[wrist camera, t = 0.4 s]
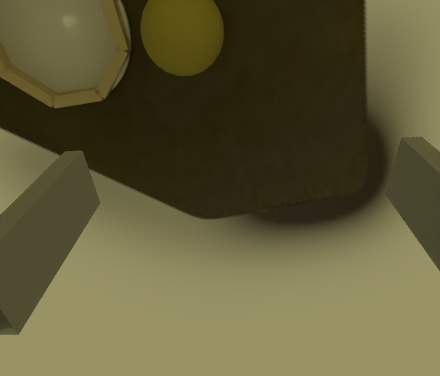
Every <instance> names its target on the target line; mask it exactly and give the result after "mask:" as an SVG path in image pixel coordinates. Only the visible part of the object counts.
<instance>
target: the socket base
mask: <svg viewBox="0 0 440 376" xmlns="http://www.w3.org/2000/svg"><path fill="white" fill-rule="evenodd" d="M131 46H132V37H131V29H130V23H129V19H128V15H127V12H126V9H125V6H124V4H123V1H122V0H0V77H1V78H3V79H5V80H6V81H8V82H10V83H11V84H13V85H15V86H16V87H18V88H20V89H21V90H23V91H25V92H26V93H28V94H30V95H31V96H33V97H35V98H36V99H38V100H40V101H41V102H43V103H45V104H46V105H48V106H50V107H51V108H52V107H53V106H54V108H60V107H66V106H73V105H79V104H85V103H91V102H98V101H103V100H104V99H105V98H107V97H108V96H109V94H110V92H111V90H112V89H114V88H115V87H116V86H117V84H118V83H119V82H120V81H121V79H122V77H123V76H124V74H125V72H126V69H127V67H128V64H129V60H130V55H131Z"/></svg>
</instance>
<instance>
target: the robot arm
mask: <svg viewBox="0 0 440 376" xmlns="http://www.w3.org/2000/svg"><path fill="white" fill-rule="evenodd" d="M386 196H387V197H388V199H389V200H390V201H391V203H392V204H393V206H394V207H395V209H396V210H397V211H398V213H399V214H400V216H401V217H402V218H403V220H404V221H405V222H406V224H407V225H408V227H409V228H410V230H411V231H412V233H413V234H414V235H415V237H416V238H417V240H418V241H419V242H420V244H421V245H422V246H423V248H424V249H425V251H426V252H427V254H428V255H429V257H430V258H431V259H432V261H433V262H434V263H435V265H436V266H437V268H438V269H439V271H440V152H439V151H438V150H437V149H436V148H434V147H433V146H432V145H431V144H430V143H428V142H427V141H426V140H425V139H424V138H422V137H408V138H407V137H406V138H401V142H400V145H399V149H398V153H397V156H396V160H395V163H394V167H393V170H392V174H391V178H390V181H389V185H388V189H387V192H386ZM99 204H100V201H99V198H98V195H97V192H96V189H95V187H94V184H93V181H92V178H91V175H90V172H89V169H88V166H87V163H86V160H85V157H84V154H83V151H65V152H64V153H63V154H62V155H61V156H60V157H59V158H58V159H57V160H56V161H55V162H54V163H53V164H52V165H51V166H50V167H49V168H48V169H47V170H46V171H45V172H44V173H43V174H42V175H41V176H40V177H39V178H38V179H37V180H36V181H35V182H34V183H33V184H31V186H30V187H29V188H28V189H26V191H24V192H23V193H22V194H21V195H20V196H19V197H18V198H17V199H16V200H15V201H14V202H13V203H12V204H11V205H10V206H9V207H8V208H7V209H6V210H5V211H4V212H3V213H2V214H1V215H0V335H2V334H4V335H5V334H6V335H18V334H19V333H20V332H21V330H22V328H23V327H24V325H25V323H26V322H27V320H28V319H29V317H30V315H31V314H32V312H33V310H34V309H35V307H36V306H37V304H38V302H39V301H40V299H41V298H42V296H43V294H44V293H45V291H46V289H47V288H48V286H49V285H50V283H51V282H52V280H53V278H54V277H55V275H56V273H57V272H58V270H59V269H60V267H61V265H62V264H63V262H64V260H65V259H66V257H67V256H68V254H69V252H70V251H71V249H72V248H73V246H74V244H75V243H76V241H77V240H78V238H79V236H80V235H81V233H82V231H83V230H84V228H85V227H86V225H87V223H88V222H89V220H90V219H91V217H92V215H93V214H94V212H95V210H96V209H97V207H98V206H99Z"/></svg>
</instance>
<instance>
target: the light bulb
mask: <svg viewBox="0 0 440 376" xmlns="http://www.w3.org/2000/svg"><path fill="white" fill-rule="evenodd" d="M140 30H141V36H142V42H143V45H144V47H145V49H146V51H147V54H148V55H149V57H150V58H151V59H152V60H153V61H154V63H155V64H156V65H157V66H158V67H160V68H161V69H163V70H164V71H166V72H167V73H171V74H174V75H177V76H192V75H195V74H198V73H201V72H203V71H204V70H206V69H207V68H208V67H209V66H211V65H212V64H213V63H214V61H215V59H216V58H217V56H218V55H219V53H220V51H221V48H222V44H223V40H224V24H223V20H222V17H221V14H220V11H219V9H218V7H217V6H216V4H215V3H214V1H213V0H148V2H147V4H146V6H145V8H144V10H143V12H142V19H141V26H140Z"/></svg>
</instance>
